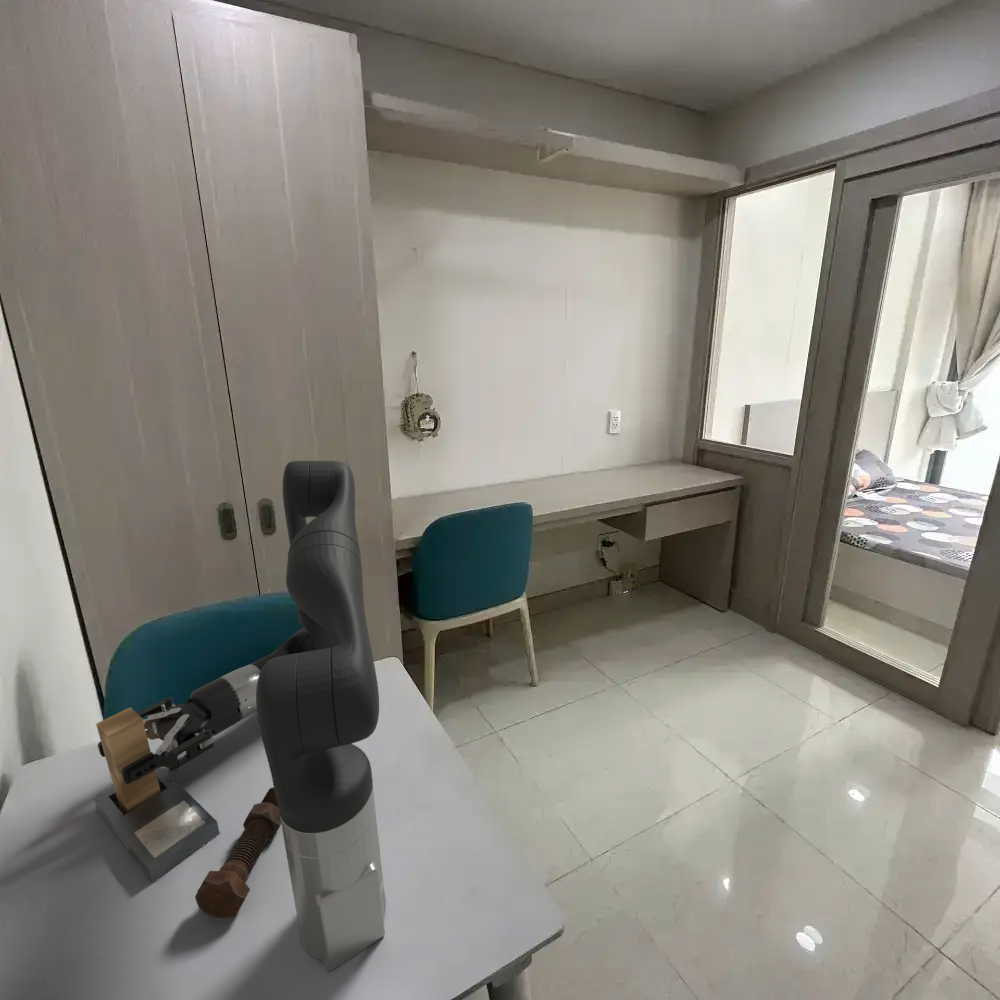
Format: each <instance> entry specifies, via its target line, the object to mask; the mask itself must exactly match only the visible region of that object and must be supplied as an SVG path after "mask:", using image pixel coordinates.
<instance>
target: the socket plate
mask: <svg viewBox="0 0 1000 1000" xmlns="http://www.w3.org/2000/svg"><path fill="white" fill-rule="evenodd" d="M155 771H156V775H157V779H158V783H159V787H160V791H161V793H160V794H158V795H156V796H155V797H153V798H151V799H150V800H148V801H147V802H145V803H143V804H142V805H140V806H139V807H137V808H135V809H134V810H132V811H131V812H129V813H127V814H124V813H123V812H122V811H121V810H120V809H119V808H118V805H119V803H118V800H117V796H116V793H115V789H114V786H113V787H111V788H110V789H108V790H106V791H104V792H103V793H101V794H99V795H97V796H96V797H94V798H93V801H94V804H95V808H96V810H97V812H98V813H99V814H100V816H101V817H102V818H103V820H104V821H105V822H106V823H107V825H108V826H109V827H110V829H111V830H112V831H113V833H114V834H115V835H116V837H117V838H118V839H119V840H120V842H121V843H122V845H123V846H124V847H125V848H126V850H127V851H128V852H129V854H130V855H131V856H132V858H133V859H134V860H135V862H136V863H137V864H138V865H139V867H140V868H141V869H142V871H143V872H144V873H145V875H146V876H147V877H148V878H149V879H150V882H151V883H155V882H156V881H158V879H160V878H162V877H163V876H164V875H166V874H167V873H168V872H170V871H171V870H172V869H174V868H175V867H177V866H178V865H179V864H181V863H182V862H183V861H184V860H186V859H187V858H188V857H190V856H191V855H193V854H194V853H195V852H196V851H198V850H199V849H201V848H202V847H203V846H205V845H206V844H207V843H210V841H212V840H213V839H214V838H215V837H217V836H218V835H220V834H221V833H220V828H219V824H218V820H216V819H215V818H214V817H213V816H212V815H211V814H210V813H209V812H208V811H207V810H206V809H205V808H204V807H203V806H202V805H201V804H200V803H199V802H198V801H197V800H196V799H195V798H194V797H193V796H192V795H191V794H190V793H189V792H188V791H187V790H186V789H185V788H184V787H183V786H182V785H181V784H180V783H179V782H178V781H177V780H176V779H174V777H173V776H172V775H171V774H170V773H169V772H168V771H167V770H166V769H165V768H157V769H155Z"/></svg>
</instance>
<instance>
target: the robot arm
mask: <svg viewBox="0 0 1000 1000" xmlns="http://www.w3.org/2000/svg"><path fill="white" fill-rule="evenodd" d="M282 476H283V477H282V501H283V509H284V510H283V511H284V514H285V515H284V517H285V522H286V528H287V534H288V540H289V541H288V542H289V549H288V551H287V552H288V553H287V563H286V575H285V576H286V578H285V579H286V580H285V583H286V589H287V592H288V593H289V596H290V597H291V600H292V601H293V602H294V604H296V606H297V618H298V620H299V623H300V625H302V626H303V628H300V629H299V630H297V631H296V632H295V633H292V635H291V636H290V637H288V638H287V639H286V640H285V641H284V642H283V643H281V645H279V646H278V647H276V649H275V650H274V651H272V652H271V653H270V654H268V655H266V656H264V657H262V658H259V659H258V660H255V661H253V662H252V663H250V664H247V665H245V666H243V667H239V668H236V669H235V670H233V671H230V672H229V673H227V674H224V675H222V676H221V677H218V678H217V679H215V680H213V681H211V682H209V683H207V684H205V685H204V684H203V686H200V687H199V688H196V689H195V690H192V692H191V693H190V695H189V698H188V700H187V701H186V702H184V703H181V704H178V705H176V704H174V701H173V697H172V696H171V697H166V698H164V699H162V700H160V701H158V702H155V703H154V704H152V705H150V706H147V707H145V708H143V709H141V710H139V711H137V712H136V713H137V714H138V715H139V716H140V717H141V718H142V719H143V723H144V727H145V731H146V735H147V739H148V740H151V741H152V740H157V739H159V740H161V741H163V742H162V743H161V744H160V745H159V746H158V747H157V749H155V751H154V752H152V751H151V753H149V754H147V755H145V756H143V757H142V758H140V759H138V760H136V761H134V762H133V763H131V764H129V765H127V766H126V767H124V768H123V769H122V770H121V775H122V779H123V781H124V782H125V783H126V784H129V783H131V782H133V781H136V780H138V779H140V778H141V777H143V776H145V775H146V774H148V773H150V772H152V771H153V770H155V769H157V768H164V769H165V768H168V769H169V770H168V771H169V772H175V771H177V770H179V769H180V768H182V767H184V766H185V765H187V764H189V763H190V762H192V761H193V760H195V759H197V758H198V757H200V756H201V755H203V754H205V753H206V752H208V751H210V750H211V749H212V748H214V747H215V746H216V745H215V744H216V743H215V737H214V736H217V735H218V734H221V732H223V731H225V730H227V729H228V728H230V727H232V726H233V725H236V724H238V723H239V722H240V721H242V720H244V719H245V718H248V717H249V716H251V715H252V714H254V713H255V712H256V713H257V714H256V715H257V721H258V727H259V730H260V736H261V739H262V743H263V747H264V751H265V755H266V759H267V763H268V767H269V771H270V775H271V779H272V783H273V784H272V785H273V787H274V791H275V796H276V800H277V803H278V808H279V813H280V819H281V830H282V836H283V841H284V842H283V843H284V847H285V853H286V859H287V865H288V871H289V877H290V882H291V888H292V889H291V890H292V895H293V901H294V906H295V912H296V916H297V917H296V918H297V923H298V929H299V934H300V940H301V943H302V945H303V947H304V949H305V950H306V952H307V953H308V954H309V955H310V956H312V957H313V958H314V959H316V960H319V961H321V962H323V963H324V964H325V965H326V969H327V971H328V972H331V971H333V970H334V969H337V967H340V966H341V965H342V964H344V963H345V962H347V961H349V960H350V959H351V958H352V957H354V956H356V955H358V954H359V953H360V952H362V951H363V950H364V949H367V947H369V946H371V945H372V944H374V943H375V942H377V941H378V940H380V939H381V938H383V937H384V936H385V934H386V930H385V921H384V919H385V915H386V895H385V884H384V876H383V868H382V867H383V866H382V859H381V849H380V839H379V831H378V830H379V829H378V823H377V813H376V802H375V800H376V799H375V793H374V784H373V783H374V782H373V772H372V766H371V761H370V760H369V758H368V756H367V754H366V752H365V751H363V749H361V748H360V747H359V746H357V745H355V744H354V743H357V742H361V741H363V740H366V739H368V738H369V737H371V735H372V734H374V732H375V730H376V728H377V725H378V721H379V715H380V694H379V686H378V685H379V684H378V679H377V678H378V677H377V671H376V667H375V660H374V655H373V651H372V646H371V640H370V635H369V630H368V625H367V624H368V623H367V619H366V613H365V612H366V611H365V600H364V584H363V568H362V558H361V551H360V545H359V537H358V532H357V526H356V488H355V487H356V486H355V485H356V484H355V478H354V474H353V472H352V470H351V467H350V466H349V465H348V464H347V463H345V462H342V461H337V460H292V461H289V462H288V463H287V464H286V465H285V468H284V471H283V475H282ZM314 517H315V518H314ZM307 518H313V519H312V520H311V521H309V522H308V523H307ZM145 716H146V717H147V718H145V719H144V717H145ZM156 723H157V724H156ZM97 750H98V753H99V755H100V756H101V757H103V758H106V757H105V754H104V750H103V747H102V743H101V741H99V742H98V744H97ZM183 753H185V755H183V756H181V757H180V758H178V757H179V756H180V755H182V754H183Z"/></svg>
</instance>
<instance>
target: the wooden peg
mask: <svg viewBox="0 0 1000 1000" xmlns="http://www.w3.org/2000/svg"><path fill="white" fill-rule="evenodd" d="M143 719H144V718H143V717H142V718H141V717H140V716H139V715H138V714H137V712H136V711H135V710H134V709H133V708H132V707H127V708H125V709H123V710H122V711H120V712H118V713H116V714H114V715H111V716H109V717H107V718H105V719H103V720H101V721H99V722H97V723H95V725H96V728H97V729H96V730H97V733H98V736H99V739H100V742H101V743H102V747H103V750H104V754H105V757H104V758H105V760H106V763H107V768H108V771H109V774H110V778H111V781H112V785H113V787H114V789H115V793H116V796H117V800H118V803H119V804H118V807H119V808H120V809H121V810H122V811H121V812H122V813H123V814H124V815H126V814H127V813H129V812H131V811H132V810H134V809H135V808H137V807H139V806H140V805H142V804H143V803H145V802H147V801H148V800H150V799H151V798H153V797H155V796H156V795H158V794H160V793H161V792H162V790H161V789H160V787H159V783H158V779H157V775H156V771H155V770H153V771H152V772H150V773H148V774H146V775H145V776H143V777H141V778H140V779H138V780H136V781H133V782H131V783H129V784H126V783H125V782H124V781H123V779H122V775H121V770H122V769H123V768H124V767H126V766H127V765H129V764H131V763H133V762H134V761H136V760H138V759H140V758H142V757H143V756H145V755H147V754H149V753H151V752H152V751H151V748H150V744H149V738H147V735H146V728H145V727H144V723H143Z"/></svg>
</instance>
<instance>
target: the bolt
mask: <svg viewBox="0 0 1000 1000" xmlns="http://www.w3.org/2000/svg"><path fill="white" fill-rule="evenodd" d="M280 826H282V824H281V819H280V813H279V808H278V803H277V800H276V796H275V791H274V786H273V787H271V788H269V789H268V790H267V792H266V793H265V795H264V797H263V798H262V800H261V802H259V803H255V804H253V806H252V808H251V809H250V810H249V812H248V814H247V816H246V818H245V820H244V822H243V823H242V827H243V829H244V830H243V832H242V833H241V835H240V836H239V838H238V840H237V842H236V843H235V844H234V845H235V846H234V847H233V849H232V851H230V853H229V855H228V857H227V858H226V860H225V861H224V863H223V865H222V866H221V867H220V869H219V870H209V871H208V873H207V875H206V876H205V877H204V879H203V881H202V883H201V885H200V886H199V888H198V890H197V892H196V894H195V896H194V898H195V901H196V904H197V906H198V908H199V910H200V911H201V912H203V913H205V914H206V915H208V916H210V917H212V918H218V919H228V918H232V917H235V916H237V915H238V913H239V912H240V910H241V908H242V906H243V904H244V902H245V900H246V898H247V896H248V895H249V892H250V890H251V888H250V887H249V886H248V885H247V884H246V883H247V880H248V878H249V875H250V873H251V872H252V870H253V868H254V866H255V864H256V862H257V861H258V859H259V856H260V855H261V853H262V851H263V849H264V847H265V845H266V844H267V842H268V841H270V840H272V839H274V838H275V836H276V834H277V833H278V831H279V828H280Z"/></svg>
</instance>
